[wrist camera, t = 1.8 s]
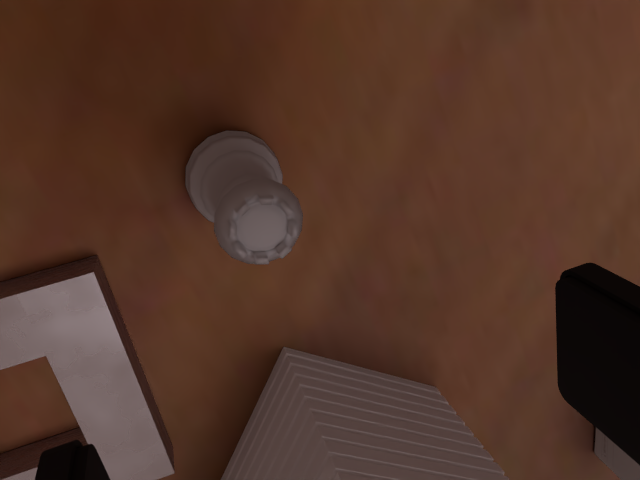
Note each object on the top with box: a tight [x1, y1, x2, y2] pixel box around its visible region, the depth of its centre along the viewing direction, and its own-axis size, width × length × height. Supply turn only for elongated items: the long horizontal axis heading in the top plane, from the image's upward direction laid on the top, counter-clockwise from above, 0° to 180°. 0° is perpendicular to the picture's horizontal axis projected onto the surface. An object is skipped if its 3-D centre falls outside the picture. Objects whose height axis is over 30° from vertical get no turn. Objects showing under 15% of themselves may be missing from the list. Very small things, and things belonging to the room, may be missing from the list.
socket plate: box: [0, 255, 175, 480], centre depth 26 cm, size 12×12×2 cm
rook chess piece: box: [185, 131, 303, 264], centre depth 23 cm, size 4×4×8 cm
